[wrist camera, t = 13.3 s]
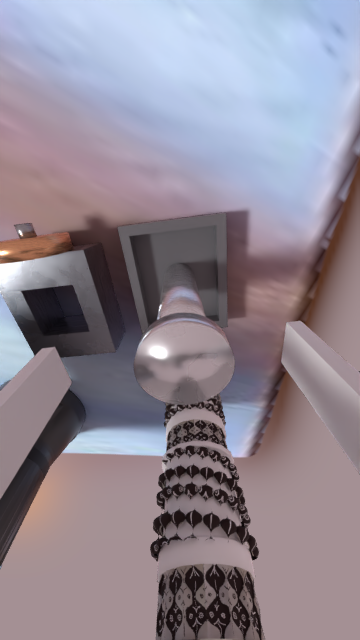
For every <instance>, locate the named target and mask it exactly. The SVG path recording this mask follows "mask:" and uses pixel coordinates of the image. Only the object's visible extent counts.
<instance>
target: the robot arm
mask: <svg viewBox="0 0 360 640" xmlns="http://www.w3.org/2000/svg"><path fill="white" fill-rule="evenodd" d="M281 363H282V364H283V365H284V367H285V368H286V370H287V371H288V373H289V374H290V375H291V377H292V378H293V380H294V381H295V383H296V384H297V386H298V387H299V388H300V390H301V391H302V393H303V394H304V396H305V397H306V398H307V400H308V401H309V403H310V404H311V406H312V407H313V408H314V410H315V411H316V413H317V414H318V416H319V417H320V418H321V420H322V421H323V423H324V424H325V425H326V427H327V429H328V430H329V431H330V433H331V434H332V436H333V437H334V439H335V440H336V441H337V443H338V444H339V446H340V447H341V449H342V450H343V451H344V453H345V454H346V456H347V457H348V459H349V460H350V461H351V463H352V464H353V466H354V467H355V469H356V470H357V471H358V473H359V474H360V371H357V370H356V369H355V368H354V367H353V366H351V365H350V364H349V363H348V362H347V361H346V360H345V359H344V358H342V357H341V356H340V355H339V354H338V353H337V352H335V351H334V350H333V349H332V348H331V347H330V346H329V345H328V344H326V343H325V342H324V341H323V340H322V339H321V338H320V337H318V336H317V335H316V334H315V333H314V332H313V331H311V330H310V329H309V328H308V327H307V326H306V325H305V324H304V323H302V322H301V321H295V322H286V329H285V337H284V344H283V352H282V359H281ZM71 384H72V382H71V380H70V377H69V375H68V373H67V371H66V369H65V367H64V365H63V363H62V361H61V358H60V356H59V354H58V352H57V350H56V348H55V347H51V348H42V349H41V350H40V351H39V352H38V353H37V354H36V355H35V356H34V357H33V358H32V359H31V360H30V361H29V362H28V363H27V364H26V365H25V366H24V367H23V368H22V369H21V370H20V371H19V372H18V373H17V375H16V376H15V377H14V378H13V379H12V380H9V381H7V382H5V383H4V384H2V385H1V386H0V569H1V566H2V563H3V561H4V559H5V557H6V554H7V553H8V551H9V549H10V546H11V544H12V542H13V540H14V538H15V536H16V534H17V532H18V530H19V528H20V526H21V524H22V522H23V520H24V518H25V516H26V514H27V512H28V510H29V508H30V506H31V504H32V502H33V500H34V498H35V496H36V494H37V492H38V490H39V488H40V486H41V484H42V482H43V480H44V478H45V476H46V474H47V472H48V470H49V468H50V466H51V465H52V464H53V462H54V461H55V460H56V459H57V458H58V456H59V455H60V454H61V453H62V452H63V450H64V449H65V448H66V447H67V446H68V444H69V443H70V442H71V441H72V440H73V439H74V438H75V437H76V436H77V435H78V433H79V431H80V429H81V427H82V425H83V423H84V420H85V410H84V407H83V405H82V403H81V402H80V400H79V399H78V398H77V397H76V396H75V395H74V394H73V393H72V392H70V391H69V390H68V388H69V387H70V385H71Z"/></svg>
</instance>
